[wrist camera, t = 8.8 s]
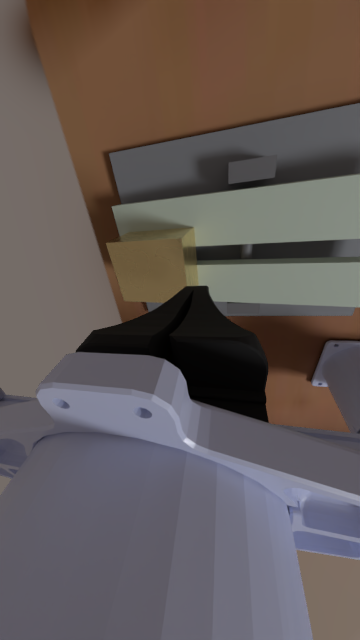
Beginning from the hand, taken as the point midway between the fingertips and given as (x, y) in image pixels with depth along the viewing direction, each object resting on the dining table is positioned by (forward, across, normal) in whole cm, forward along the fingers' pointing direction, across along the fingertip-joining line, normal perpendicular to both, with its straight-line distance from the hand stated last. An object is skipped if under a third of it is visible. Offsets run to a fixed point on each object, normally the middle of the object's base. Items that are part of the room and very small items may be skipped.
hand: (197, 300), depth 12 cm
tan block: (+7, +4, 0) cm, 8 cm away
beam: (+8, -3, -1) cm, 9 cm away
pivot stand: (+10, -3, -1) cm, 11 cm away
